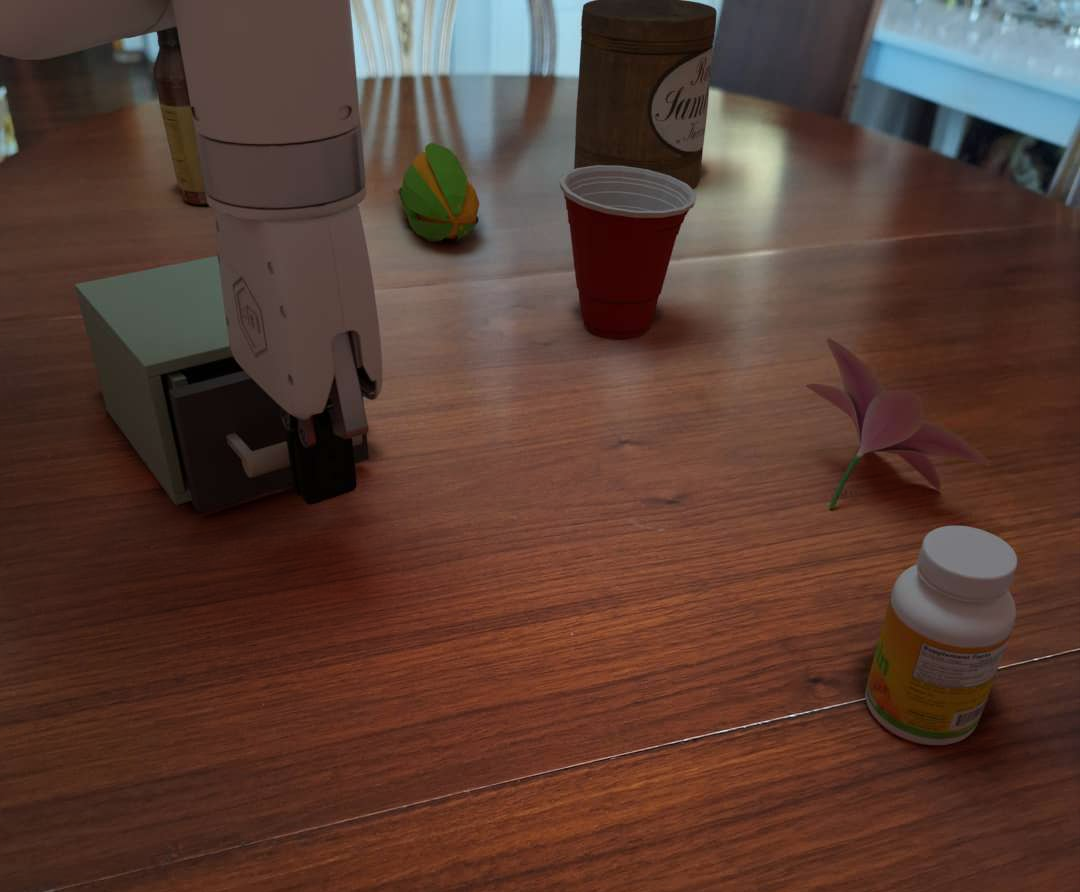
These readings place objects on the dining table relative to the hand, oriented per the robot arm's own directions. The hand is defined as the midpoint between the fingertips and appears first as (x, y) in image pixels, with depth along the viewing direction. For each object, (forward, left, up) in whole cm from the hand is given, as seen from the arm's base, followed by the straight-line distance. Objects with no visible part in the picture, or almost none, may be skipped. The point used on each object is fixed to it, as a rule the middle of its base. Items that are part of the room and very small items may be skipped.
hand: (326, 491), depth 60 cm
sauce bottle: (+17, +66, -4) cm, 69 cm away
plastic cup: (+34, +15, -4) cm, 37 cm away
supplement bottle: (+18, -29, -4) cm, 34 cm away
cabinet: (0, +16, -4) cm, 17 cm away
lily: (+32, -14, -4) cm, 35 cm away
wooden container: (+62, +47, -4) cm, 78 cm away
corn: (+34, +46, -4) cm, 58 cm away
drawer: (0, +11, -3) cm, 11 cm away
